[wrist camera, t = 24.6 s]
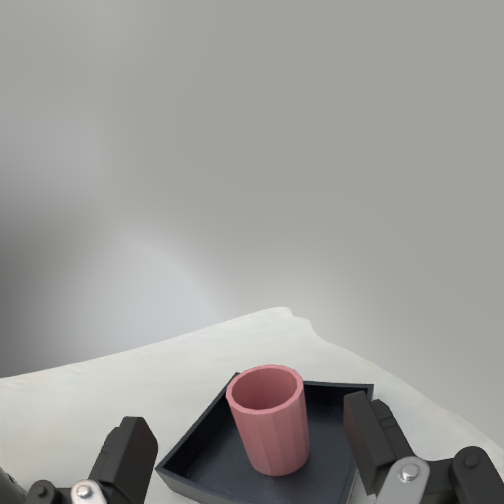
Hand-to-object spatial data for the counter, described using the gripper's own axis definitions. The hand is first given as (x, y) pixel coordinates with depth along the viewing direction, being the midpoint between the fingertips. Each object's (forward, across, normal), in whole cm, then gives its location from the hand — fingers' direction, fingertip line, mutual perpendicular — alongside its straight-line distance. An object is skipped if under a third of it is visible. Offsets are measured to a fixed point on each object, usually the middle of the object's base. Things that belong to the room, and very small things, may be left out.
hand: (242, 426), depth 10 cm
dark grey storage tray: (+11, 0, +18) cm, 21 cm away
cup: (+11, 0, +17) cm, 21 cm away
